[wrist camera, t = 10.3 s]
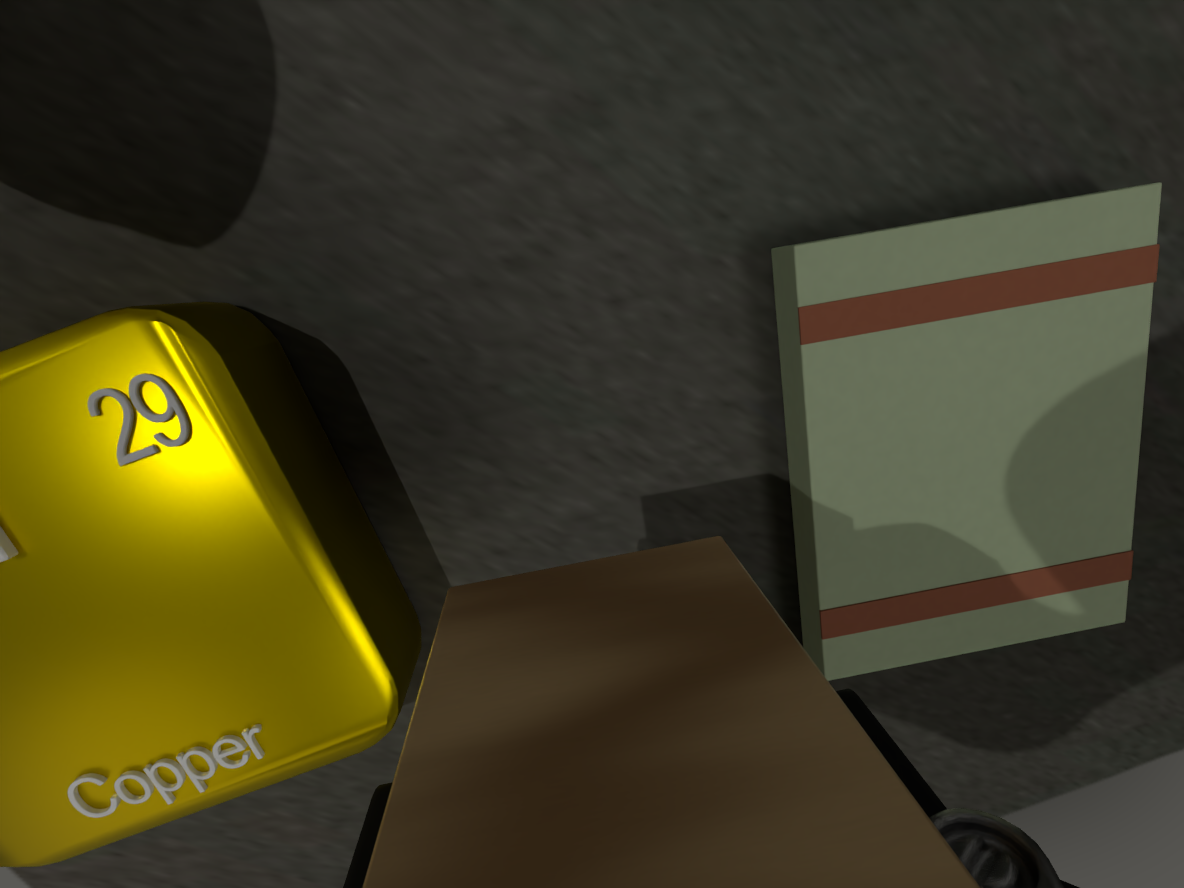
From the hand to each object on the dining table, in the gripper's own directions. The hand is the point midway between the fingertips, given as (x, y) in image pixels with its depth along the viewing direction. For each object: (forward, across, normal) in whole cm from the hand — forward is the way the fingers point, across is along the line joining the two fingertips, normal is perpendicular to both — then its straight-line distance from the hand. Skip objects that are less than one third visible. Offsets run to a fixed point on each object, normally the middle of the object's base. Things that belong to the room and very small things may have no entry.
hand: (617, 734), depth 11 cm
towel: (+12, -14, 0) cm, 19 cm away
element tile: (+13, +15, -1) cm, 19 cm away
